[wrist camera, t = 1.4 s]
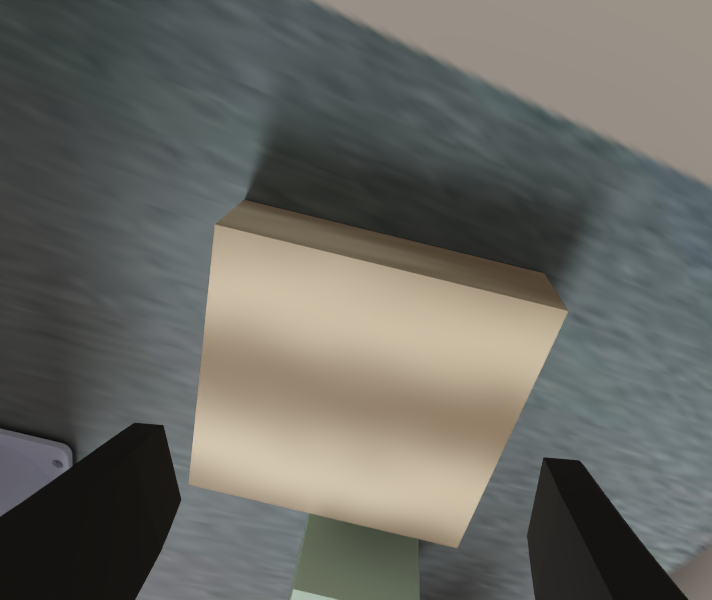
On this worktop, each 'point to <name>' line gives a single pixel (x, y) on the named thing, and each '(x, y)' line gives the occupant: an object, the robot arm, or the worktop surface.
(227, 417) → the birch plinth
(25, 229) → the worktop surface
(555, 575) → the robot arm
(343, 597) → the sage cube
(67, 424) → the worktop surface
